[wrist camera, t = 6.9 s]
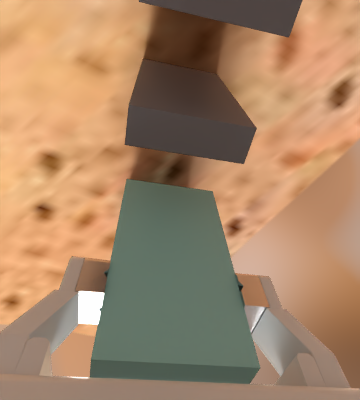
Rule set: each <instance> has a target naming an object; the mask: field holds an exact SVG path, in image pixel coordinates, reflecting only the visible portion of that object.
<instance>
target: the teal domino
mask: <svg viewBox="0 0 360 400" xmlns="http://www.w3.org/2000/svg"><path fill="white" fill-rule="evenodd" d="M234 273H235V272H234V269H233V265H232V261H231V258H230V254H229V250H228V246H227V243H226V239H225V235H224V232H223V228H222V224H221V221H220V217H219V213H218V209H217V206H216V202H215V198H214V195H213V191H207V190H200V189H193V188H186V187H179V186H172V185H166V184H159V183H152V182H145V181H138V180H131V179H127V180H126V185H125V190H124V195H123V200H122V205H121V210H120V215H119V220H118V225H117V230H116V235H115V241H114V246H113V251H112V256H111V263H110V268H109V272H108V276H107V283H106V288H105V293H104V297H103V301H102V306H101V311H100V317H99V322H98V327H97V332H96V337H95V342H94V347H93V352H92V357H91V369H90V378H115V379H139V380H164V381H189V382H214V383H238V384H250V382H251V381H252V379H253V378H254V376H255V375H256V373H257V372H258V371H259V369H260V365H259V361H258V357H257V354H256V350H255V346H254V343H253V339H252V335H251V331H250V328H249V324H248V320H247V317H246V313H245V309H244V307H243V304H242V300H241V296H240V291H239V287H238V284H237V281H236V278H235V274H234Z"/></svg>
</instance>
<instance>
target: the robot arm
mask: <svg viewBox="0 0 360 400" xmlns="http://www.w3.org/2000/svg"><path fill="white" fill-rule="evenodd" d="M110 263H111V261H108V260H100V259H92V258H82V257H74V256H72V257H71V258H70V260H69V263H68V266H67V268H66V271H65V274H64V277H63V279H62V282H61V285H60V288H59V290H54V291H53V292H51V293H50V294H49V295H47V296H46V297H45V298H43V299H42V300H41V301H40V302H38V303H37V304H36V305H34V306H33V307H32V308H31V309H29V310H28V311H27V312H25V313H24V314H23V315H22V316H20V317H19V318H18V319H16V320H15V321H14V322H13V323H11V324H10V325H9V326H7V327H6V328H5V329H4V330H2V331H1V332H0V400H360V388H359V389H358V388H351V387H350V385H349V383H348V381H347V379H346V377H345V375H344V373H343V371H342V369H341V367H340V365H339V363H338V361H337V359H336V357H335V355H334V354H333V353H332V352H331V351H330V350H329V349H328V348H327V347H326V346H325V345H324V344H323V343H321V342H320V341H319V340H318V339H317V338H316V337H315V336H314V335H313V334H312V333H311V332H310V331H309V330H307V329H306V328H305V327H304V326H303V325H302V324H301V323H300V322H299V321H298V320H297V319H296V318H295V317H294V316H293V315H291V314H290V313H289V312H288V311H287V310H286V309H283V308H282V306H281V304H280V301H279V298H278V296H277V294H276V291H275V289H274V286H273V284H272V281H271V279H270V277H269V276H259V275H249V274H238V273H234V274H235V278H236V281H237V284H238V287H239V291H240V296H241V300H242V304H243V307H244V309H245V313H246V317H247V320H248V324H249V328H250V331H251V335H252V339H253V340H254V341H255V343H256V344H257V345H258V347H259V348H260V349H261V351H262V352H263V353H264V355H265V356H266V357H267V359H268V360H269V361H270V363H271V364H272V365H273V366H274V368H275V369H276V371H277V372H278V373H279V374H280V378H279V379H278V380H277V382H276V383H275V384H274V385H262V384H238V383H214V382H189V381H164V380H139V379H115V378H90V377H66V376H52V366H51V354H52V353H53V352H54V351H55V350H56V349H57V348H58V347H59V345H60V344H61V343H62V342H63V341H64V340H65V339H66V338H67V336H69V334H70V333H71V332H72V331H73V330H74V329H75V328H76V327H77V326H78V323H83V324H98V322H99V317H100V311H101V306H102V301H103V297H104V293H105V288H106V283H107V276H108V272H109V268H110Z"/></svg>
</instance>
